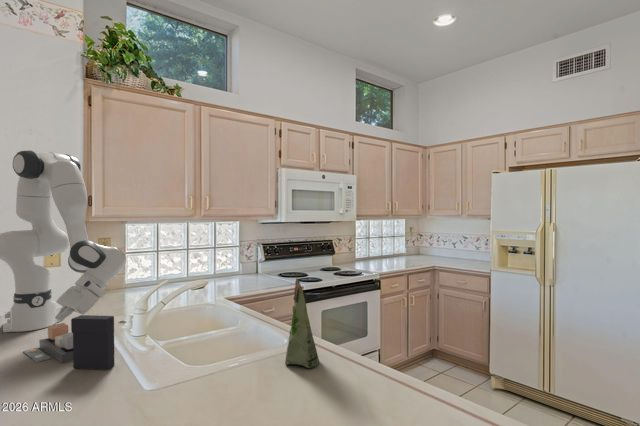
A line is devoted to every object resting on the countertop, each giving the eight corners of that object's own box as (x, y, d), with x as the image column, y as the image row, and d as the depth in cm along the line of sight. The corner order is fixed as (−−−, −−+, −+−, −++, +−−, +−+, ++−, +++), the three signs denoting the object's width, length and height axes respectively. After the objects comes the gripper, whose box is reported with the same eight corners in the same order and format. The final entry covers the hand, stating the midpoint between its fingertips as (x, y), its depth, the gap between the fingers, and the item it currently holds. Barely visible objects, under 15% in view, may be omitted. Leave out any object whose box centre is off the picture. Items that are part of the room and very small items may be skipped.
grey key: (62, 346, 116) (62, 334, 116) (78, 342, 120) (78, 330, 120) (67, 349, 114) (67, 337, 114) (84, 345, 117) (84, 333, 117)
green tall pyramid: (302, 374, 102) (301, 285, 102) (273, 363, 110) (272, 280, 109) (327, 362, 110) (326, 279, 110) (298, 352, 118) (298, 275, 118)
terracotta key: (47, 337, 125) (47, 326, 125) (63, 333, 129) (63, 322, 129) (52, 340, 122) (52, 328, 122) (68, 336, 126) (68, 325, 126)
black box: (116, 364, 110) (115, 315, 110) (106, 371, 105) (106, 319, 105) (82, 363, 111) (81, 314, 111) (71, 369, 106) (70, 318, 106)
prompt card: (23, 352, 120) (23, 350, 120) (36, 348, 123) (36, 346, 123) (36, 362, 112) (36, 360, 112) (50, 358, 115) (50, 356, 115)
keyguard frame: (39, 347, 124) (39, 340, 124) (68, 340, 131) (68, 333, 131) (61, 363, 111) (61, 354, 111) (93, 354, 118) (93, 346, 118)
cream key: (55, 348, 121) (54, 336, 121) (71, 344, 124) (70, 333, 124) (59, 351, 118) (59, 339, 118) (76, 347, 122) (75, 335, 122)
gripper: (71, 278, 138) (40, 310, 130) (93, 284, 125) (60, 319, 117) (85, 288, 141) (55, 319, 133) (107, 294, 128) (76, 330, 121)
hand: (57, 319), depth 125 cm, fingers closed
